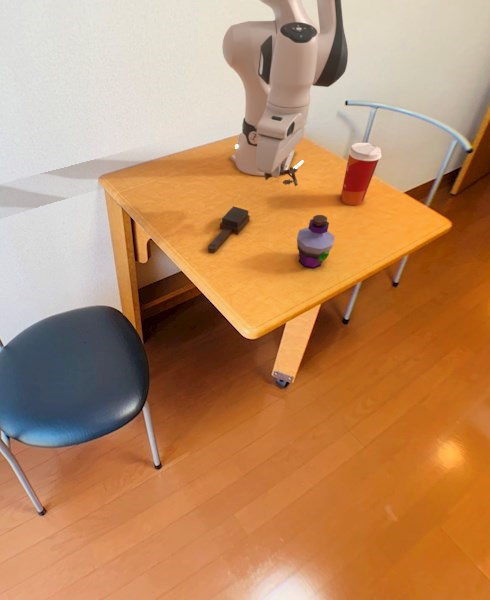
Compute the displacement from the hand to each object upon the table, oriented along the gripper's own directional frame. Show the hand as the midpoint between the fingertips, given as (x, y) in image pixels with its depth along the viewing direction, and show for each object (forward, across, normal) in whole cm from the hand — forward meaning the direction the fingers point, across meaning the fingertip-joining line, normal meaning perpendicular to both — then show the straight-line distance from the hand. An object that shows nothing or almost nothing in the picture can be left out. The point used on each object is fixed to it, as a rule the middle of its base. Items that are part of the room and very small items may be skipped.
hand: (277, 173), depth 101 cm
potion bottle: (+15, +9, +14) cm, 22 cm away
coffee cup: (+15, -23, +15) cm, 32 cm away
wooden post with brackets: (+2, 0, +1) cm, 2 cm away
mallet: (+15, +9, -8) cm, 19 cm away
